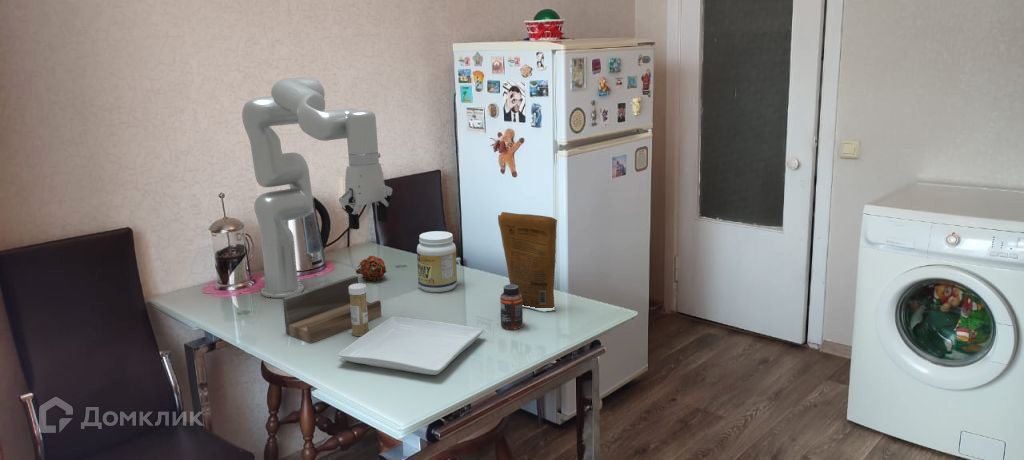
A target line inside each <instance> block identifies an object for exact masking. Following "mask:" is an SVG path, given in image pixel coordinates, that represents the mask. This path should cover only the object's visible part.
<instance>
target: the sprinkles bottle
mask: <svg viewBox="0 0 1024 460" xmlns="http://www.w3.org/2000/svg"><path fill="white" fill-rule="evenodd" d="M367 289H368V288H367V285H366V284H365V283H361V282H358V283H356V284H352V285H350V286H349V295H350V310H351V322H352V328H351V330H352V332H351V333H352V336H355V337H362V336H363V335H365V334H366V333H367V332H369V331H370V330H369V321H368V312H367V302H368V301H367V292H368V291H367Z"/></svg>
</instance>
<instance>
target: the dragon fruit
mask: <svg viewBox="0 0 1024 460" xmlns="http://www.w3.org/2000/svg"><path fill="white" fill-rule="evenodd" d="M387 272H388V271H387V267H386V265H385V262H384V260H383V259H382V258H380V257H378V256H375V255H369V256H368V257H367V258H364V259H362V260H361V261H360V262H359V264H358V266H357V269H355V273H356V274H357V275H362V279H363V280H364V281H369V280H370V281H372V282H377V281H378V280H379V279H382V278H383V277H384V276H385V274H386V273H387Z"/></svg>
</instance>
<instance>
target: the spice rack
mask: <svg viewBox="0 0 1024 460" xmlns="http://www.w3.org/2000/svg"><path fill="white" fill-rule="evenodd" d="M356 283H359V276H358V275H352V276H349V277H345V278H343V279H338V280H336V281H332V282H330V283H326V284H323V285H321V286H317V287H314V288H311V289H308V290H305V291H304V290H303V291H302V292H300V293H298V294H295V295H292V296H288V297H282V303H283V312H284V313H283V314H284V324H285V334H286V335H288V336H290V337H293V338H295V339H298V340H301V341H304V342H307V343H309V344H312V343H315V342H317V341H321V340H323V339H325V338H326V339H327V338H329V337H331V336H334V335H336V334H339V333H341V332H344V331H346V330H347V331H348V330H349V329H352V322H351V310H350V295H349V286H350V285H352V284H356ZM367 312H368V322H369V321H372V320H375V319H378V318H380V317H382V305H381V300H375V301H372V302H369V301H367Z"/></svg>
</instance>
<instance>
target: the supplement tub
mask: <svg viewBox="0 0 1024 460" xmlns="http://www.w3.org/2000/svg"><path fill="white" fill-rule="evenodd" d="M418 241H419V244H417V247H416V257H417V259H416V260H417V283H418V287H419V288H420V290H423V291H425V292H428V293H429V292H430V293H443V292H444V293H445V292H448V291H451V290H454V289H455V287H456V286H457V284H458V279H457V278H458V275H457V274H458V272H457V270H458V269H457V247H456V244H455V243H454V242H453V241H454V235H453V233H451V232H449V231H441V230H440V231H439V230H435V231H427V232H422V233H421V234H419V239H418Z"/></svg>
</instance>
